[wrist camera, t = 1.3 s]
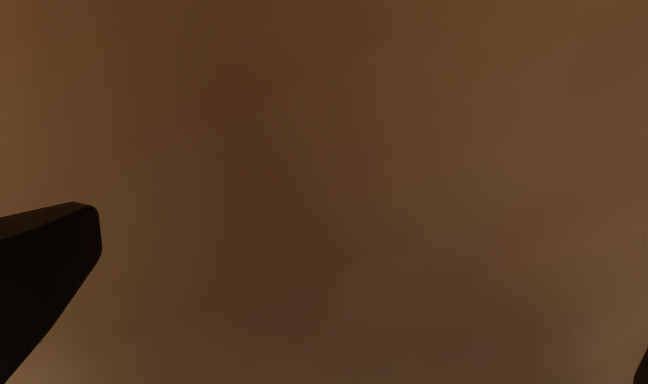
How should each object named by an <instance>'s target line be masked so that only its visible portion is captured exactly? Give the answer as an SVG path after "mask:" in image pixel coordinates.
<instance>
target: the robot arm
mask: <svg viewBox="0 0 648 384" xmlns="http://www.w3.org/2000/svg"><path fill="white" fill-rule="evenodd" d="M101 252H102V240H101V231H100V221H99V214H98V211H97V209H96V208H95V207H94V206H91V205H87V204H82V203H78V202H68V203H63V204H59V205H54V206H50V207H45V208H41V209H36V210H32V211H27V212H23V213H19V214H14V215H10V216H5V217H1V218H0V384H5V382H6V381H7V380H8V379H9V378H10V377H11V375H12V374H13V373H14V372H15V371H16V369H17V368H18V367H19V366H20V365H21V364H22V362H23V361H24V360H25V359H26V358H27V357H28V355H29V354H30V353H31V352H32V351H33V350H34V348H35V347H36V346H37V345H38V344H39V343H40V341H41V340H42V339H43V338H44V336H45V335H46V334H47V333H48V332H49V330H50V329H51V328H52V326H53V325H54V324H55V322H56V321H57V320H58V318H59V317H60V315H61V314H62V312H63V311H64V310H65V308H66V307H67V305H68V304H69V302H70V301H71V300H72V298H73V297H74V295H75V294H76V292H77V291H78V289H79V288H80V287H81V285H82V284H83V282H84V281H85V279H86V278H87V276H88V275H89V274H90V272H91V271H92V269H93V268H94V266H95V265H96V263H97V262H98V260H99V258H100V256H101ZM633 384H648V348H647V350H646V352H645V354H644V356H643V358H642V360H641V362H640V364H639V366H638V368H637V370H636V373H635V376H634V381H633Z"/></svg>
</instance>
